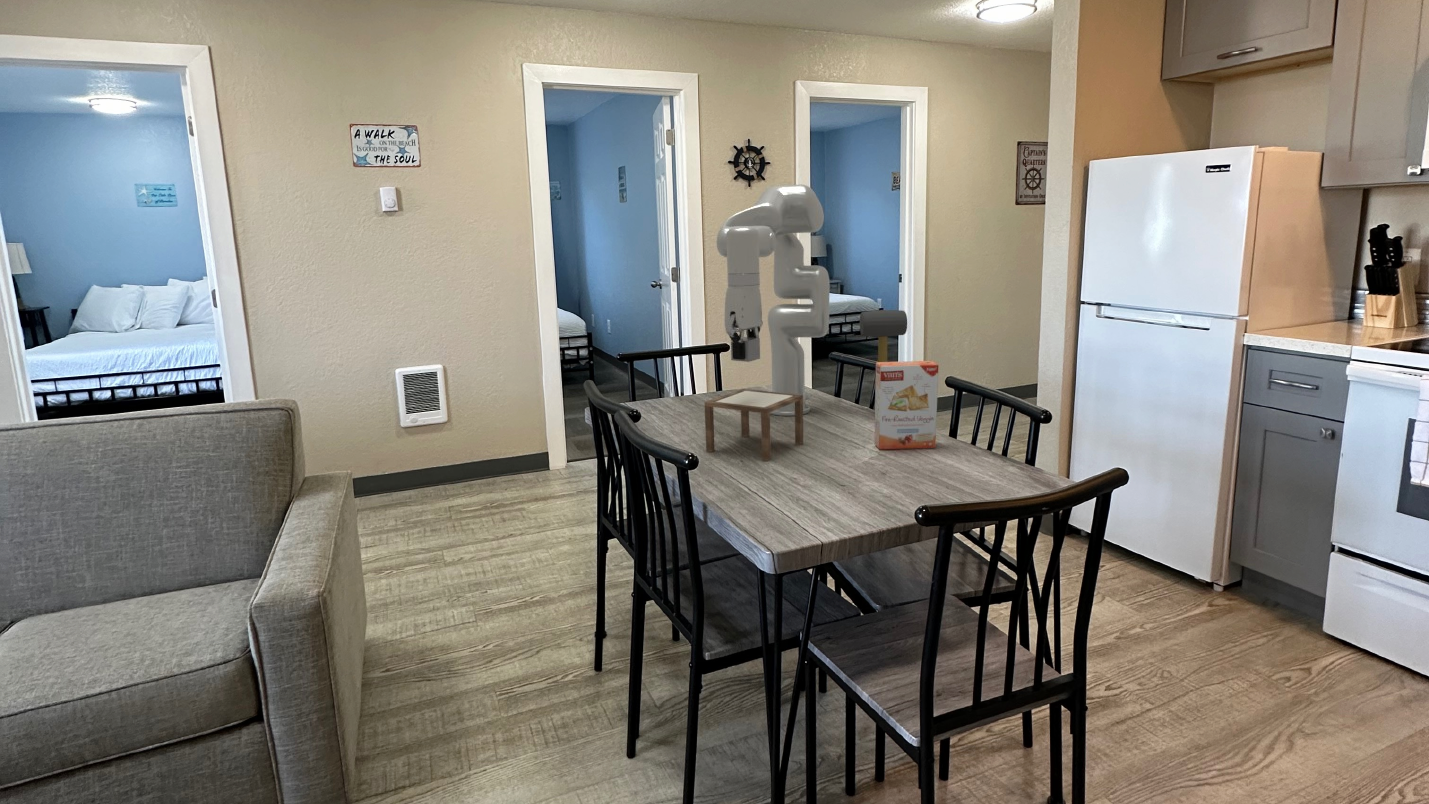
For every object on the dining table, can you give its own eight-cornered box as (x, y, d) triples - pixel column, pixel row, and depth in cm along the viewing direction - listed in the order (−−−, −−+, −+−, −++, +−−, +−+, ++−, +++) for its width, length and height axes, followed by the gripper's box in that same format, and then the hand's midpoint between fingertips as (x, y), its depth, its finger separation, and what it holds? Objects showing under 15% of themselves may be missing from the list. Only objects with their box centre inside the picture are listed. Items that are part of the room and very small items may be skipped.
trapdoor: (745, 394, 209) (745, 390, 209) (793, 399, 202) (793, 395, 201) (714, 405, 198) (714, 401, 198) (763, 411, 190) (763, 407, 190)
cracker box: (879, 450, 196) (880, 365, 191) (873, 444, 202) (874, 361, 197) (936, 448, 196) (939, 363, 192) (929, 442, 202) (932, 359, 197)
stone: (742, 357, 198) (742, 336, 197) (760, 358, 195) (759, 337, 194) (731, 360, 194) (730, 339, 193) (748, 361, 191) (748, 340, 190)
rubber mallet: (900, 411, 235) (902, 307, 229) (906, 417, 228) (908, 310, 221) (858, 412, 235) (858, 309, 229) (862, 418, 228) (863, 312, 221)
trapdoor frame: (744, 435, 214) (743, 388, 212) (803, 443, 205) (802, 395, 202) (706, 451, 200) (704, 402, 198) (767, 461, 190) (766, 409, 188)
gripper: (749, 278, 200) (751, 351, 204) (709, 283, 186) (712, 361, 190) (775, 278, 195) (777, 352, 199) (737, 284, 182) (739, 364, 186)
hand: (745, 356), depth 195 cm, fingers closed on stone, 5 cm apart
